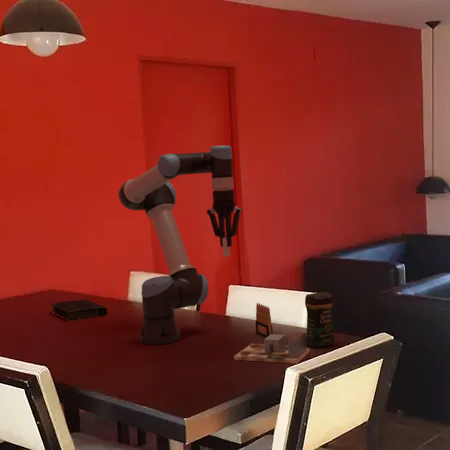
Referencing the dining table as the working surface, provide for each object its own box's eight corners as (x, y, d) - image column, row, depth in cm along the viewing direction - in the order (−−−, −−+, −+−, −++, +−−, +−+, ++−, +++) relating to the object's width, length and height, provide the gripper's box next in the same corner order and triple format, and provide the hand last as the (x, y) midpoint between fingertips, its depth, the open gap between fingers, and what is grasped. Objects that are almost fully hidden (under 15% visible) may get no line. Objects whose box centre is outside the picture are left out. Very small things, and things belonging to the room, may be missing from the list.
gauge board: (233, 359, 246) (233, 352, 246) (249, 348, 259) (249, 341, 259) (297, 364, 238) (296, 356, 237) (309, 352, 251) (309, 345, 250)
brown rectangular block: (288, 357, 241) (287, 339, 240) (297, 349, 250) (297, 332, 249) (297, 358, 240) (296, 340, 239) (306, 350, 249) (305, 332, 248)
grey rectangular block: (260, 357, 242) (259, 342, 242) (271, 348, 252) (271, 334, 252) (275, 358, 240) (274, 343, 240) (285, 349, 250) (285, 334, 250)
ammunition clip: (273, 338, 272) (271, 306, 270) (268, 339, 271) (267, 307, 270) (260, 332, 281) (258, 301, 280) (255, 333, 281) (254, 302, 280)
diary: (87, 308, 349) (87, 298, 349) (107, 317, 328) (107, 306, 327) (49, 314, 340) (48, 303, 339) (67, 323, 318) (66, 311, 318)
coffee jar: (316, 349, 254) (313, 296, 252) (302, 344, 261) (300, 293, 259) (338, 344, 258) (336, 292, 256) (325, 340, 265) (323, 289, 263)
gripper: (201, 190, 259) (205, 257, 261) (236, 189, 254) (239, 257, 256) (210, 189, 266) (214, 254, 268) (244, 188, 261) (247, 254, 263)
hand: (226, 255), depth 262 cm, fingers closed
